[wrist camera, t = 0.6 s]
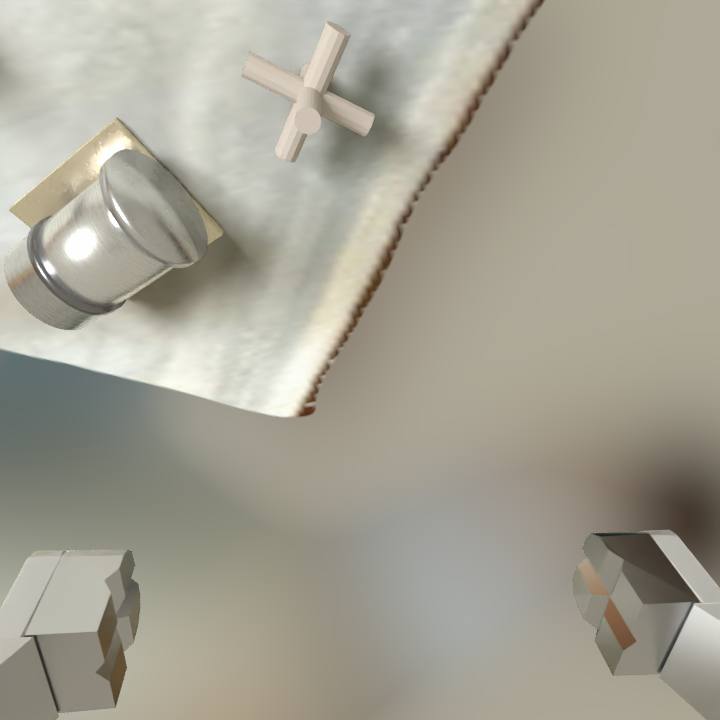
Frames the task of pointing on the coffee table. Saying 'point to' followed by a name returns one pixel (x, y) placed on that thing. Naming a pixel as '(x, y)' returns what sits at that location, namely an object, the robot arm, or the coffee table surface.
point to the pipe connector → (309, 92)
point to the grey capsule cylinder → (102, 231)
